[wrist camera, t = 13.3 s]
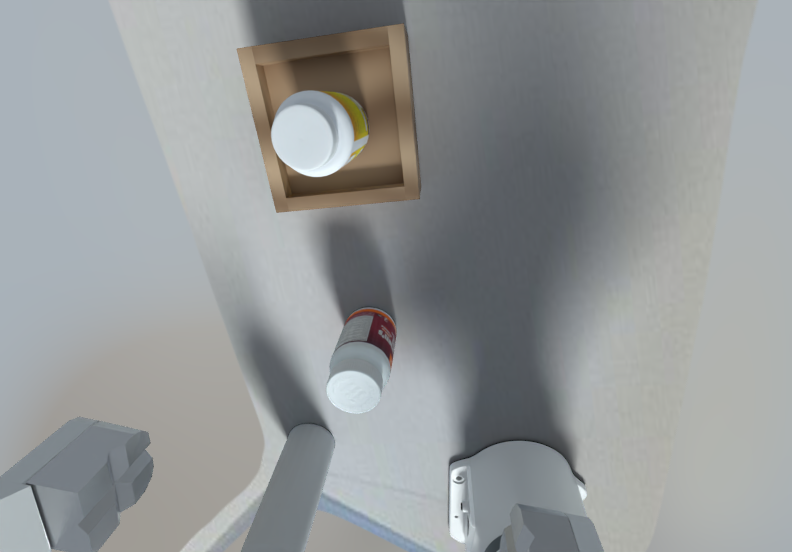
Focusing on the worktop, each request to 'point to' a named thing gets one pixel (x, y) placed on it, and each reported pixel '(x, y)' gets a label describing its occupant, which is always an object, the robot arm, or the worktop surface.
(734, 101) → the worktop surface
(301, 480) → the bottle
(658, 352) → the worktop surface
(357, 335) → the pill bottle
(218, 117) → the worktop surface
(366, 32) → the brown wooden box
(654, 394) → the worktop surface
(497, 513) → the robot arm
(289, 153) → the supplement bottle
